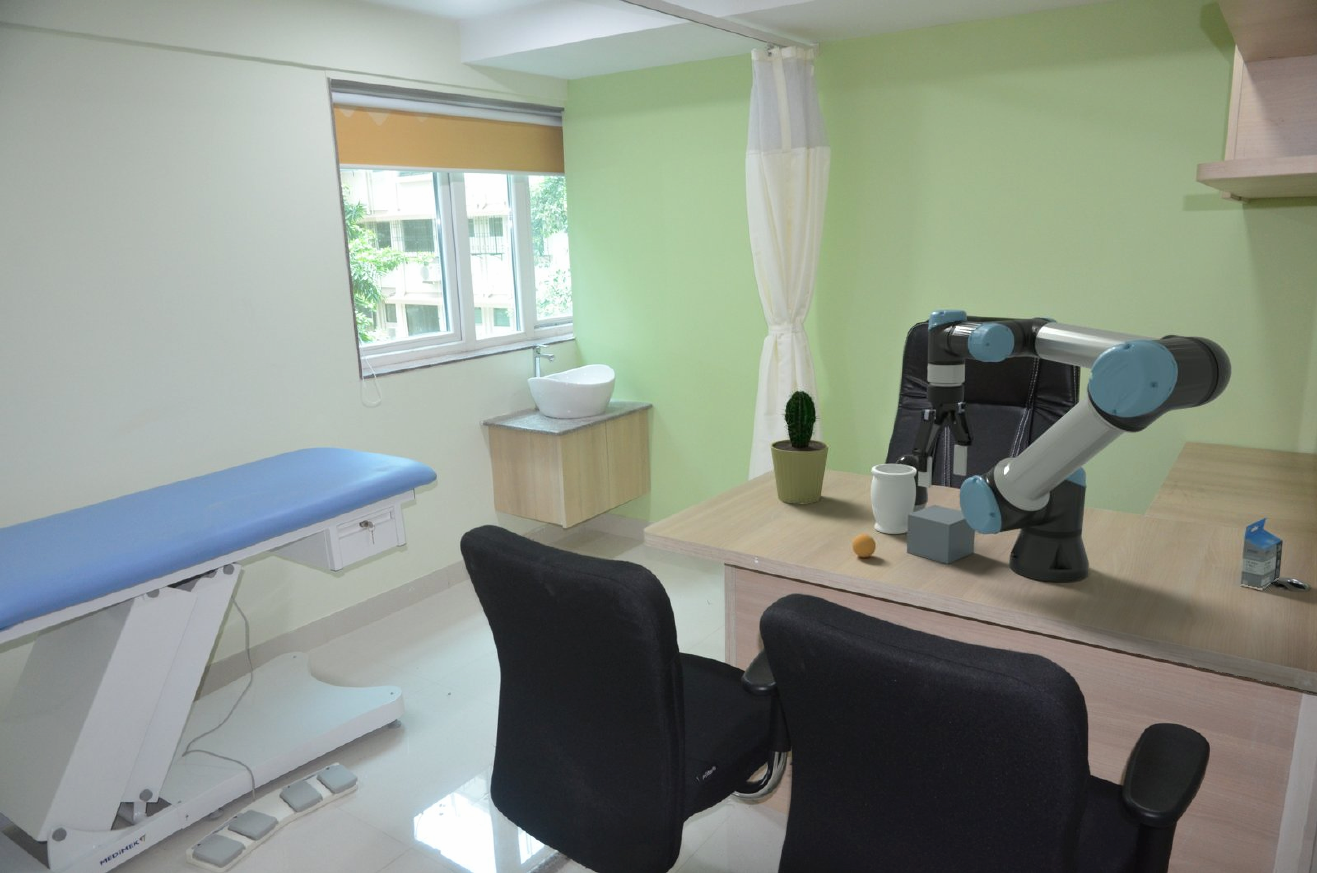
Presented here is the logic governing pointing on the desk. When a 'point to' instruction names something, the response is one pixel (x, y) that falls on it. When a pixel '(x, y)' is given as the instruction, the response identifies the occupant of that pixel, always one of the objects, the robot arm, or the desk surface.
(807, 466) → the potted cactus
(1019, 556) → the robot arm
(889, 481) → the jar
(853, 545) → the ball
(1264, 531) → the label tape box
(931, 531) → the slate gray cube
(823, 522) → the desk surface
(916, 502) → the dark gray tall dome
